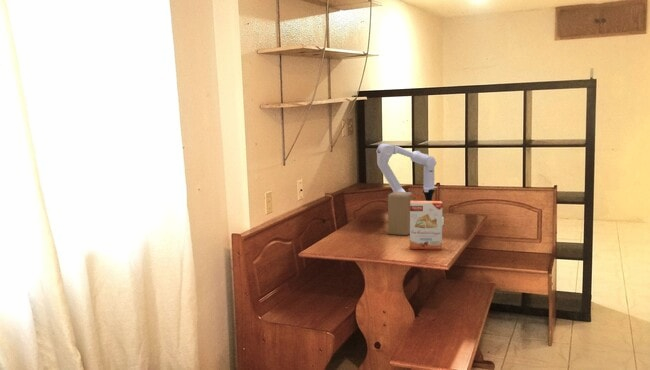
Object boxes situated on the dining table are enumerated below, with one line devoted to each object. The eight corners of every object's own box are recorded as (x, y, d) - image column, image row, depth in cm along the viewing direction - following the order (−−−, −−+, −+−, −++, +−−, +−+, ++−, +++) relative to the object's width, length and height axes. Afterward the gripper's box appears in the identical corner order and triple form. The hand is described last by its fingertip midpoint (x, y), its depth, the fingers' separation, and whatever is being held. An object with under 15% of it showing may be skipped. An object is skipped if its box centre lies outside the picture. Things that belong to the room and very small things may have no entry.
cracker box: (409, 249, 259) (409, 202, 256) (409, 246, 265) (409, 200, 262) (442, 250, 257) (442, 202, 254) (441, 246, 263) (442, 200, 260)
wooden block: (413, 231, 294) (413, 192, 291) (407, 236, 285) (407, 195, 282) (394, 230, 298) (393, 191, 295) (387, 234, 289) (387, 194, 286)
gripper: (433, 180, 309) (433, 206, 311) (439, 177, 322) (438, 201, 324) (420, 180, 311) (420, 205, 313) (426, 176, 325) (426, 201, 326)
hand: (428, 203), depth 319 cm, fingers closed
